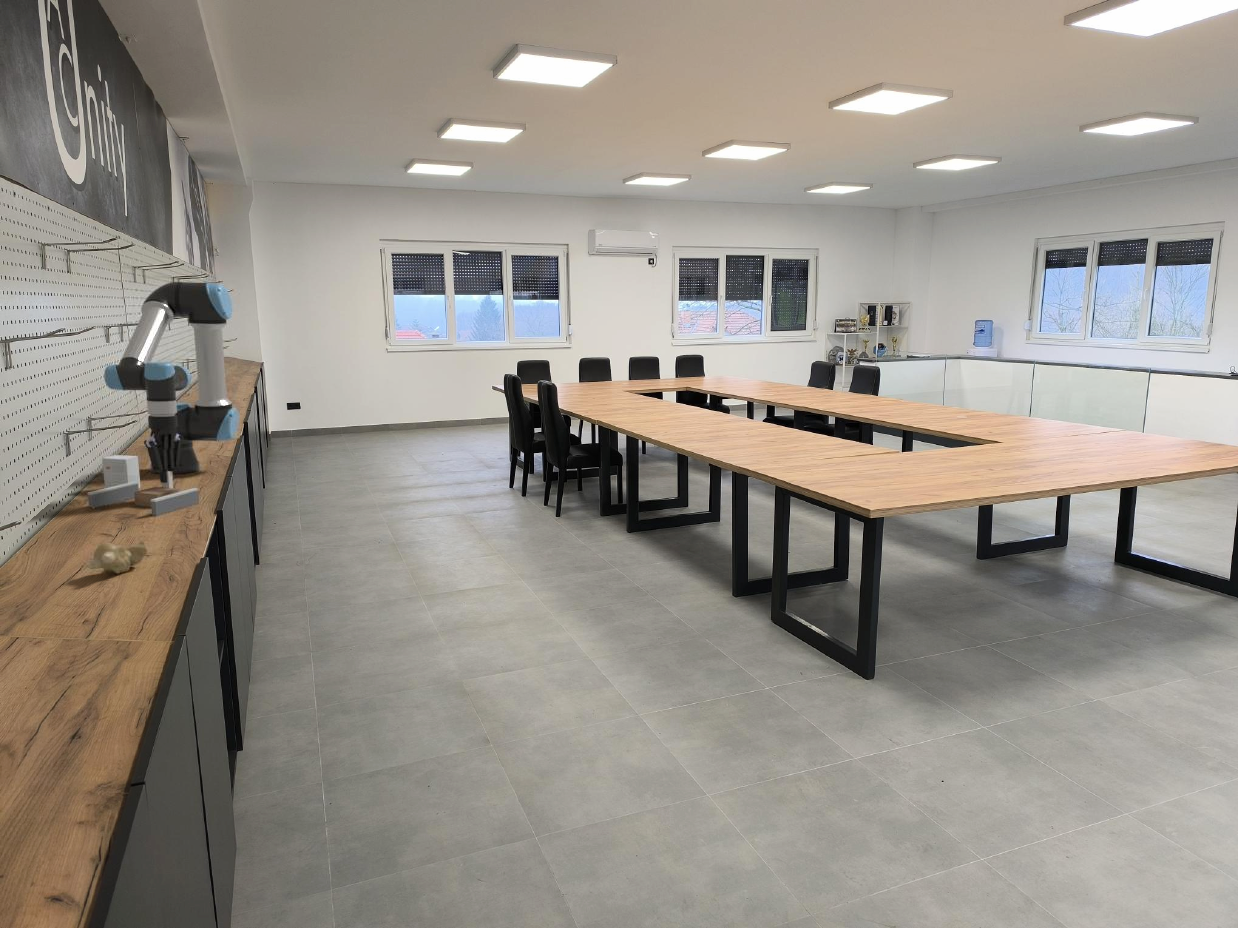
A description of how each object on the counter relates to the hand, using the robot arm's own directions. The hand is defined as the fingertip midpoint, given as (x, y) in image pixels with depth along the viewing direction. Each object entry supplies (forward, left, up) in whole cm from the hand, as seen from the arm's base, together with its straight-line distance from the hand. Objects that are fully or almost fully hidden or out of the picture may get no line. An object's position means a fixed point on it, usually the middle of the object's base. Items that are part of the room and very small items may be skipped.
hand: (167, 492), depth 241 cm
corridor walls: (+8, 0, -2) cm, 9 cm away
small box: (-5, -21, -2) cm, 22 cm away
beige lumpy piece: (+57, +39, -2) cm, 69 cm away
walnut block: (+5, +1, -2) cm, 5 cm away
